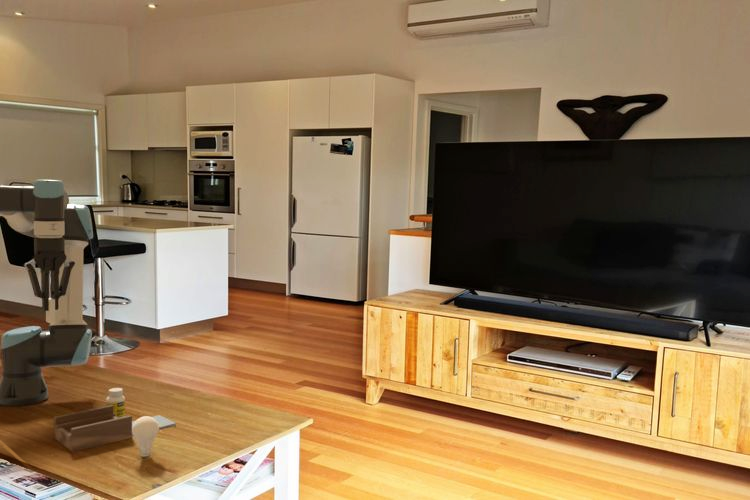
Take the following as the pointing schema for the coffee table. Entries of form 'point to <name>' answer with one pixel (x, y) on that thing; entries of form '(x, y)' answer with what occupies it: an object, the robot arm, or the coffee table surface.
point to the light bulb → (145, 434)
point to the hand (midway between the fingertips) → (50, 322)
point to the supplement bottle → (116, 401)
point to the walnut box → (91, 428)
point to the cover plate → (161, 422)
